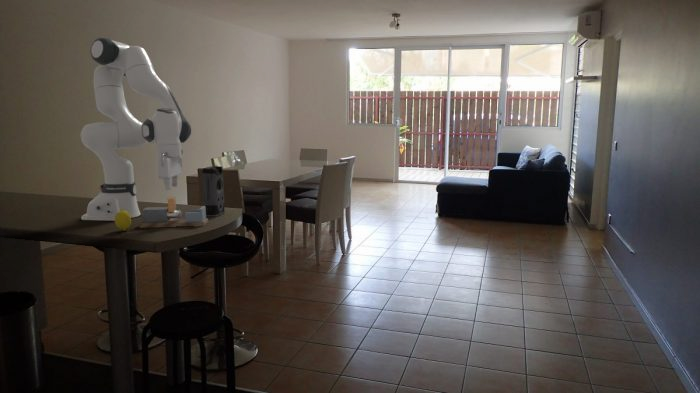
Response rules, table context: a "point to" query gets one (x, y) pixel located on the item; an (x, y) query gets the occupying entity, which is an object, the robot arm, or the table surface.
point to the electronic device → (213, 190)
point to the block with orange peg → (172, 209)
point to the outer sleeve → (155, 214)
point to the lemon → (123, 220)
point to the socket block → (196, 215)
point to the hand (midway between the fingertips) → (171, 188)
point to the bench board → (173, 223)
